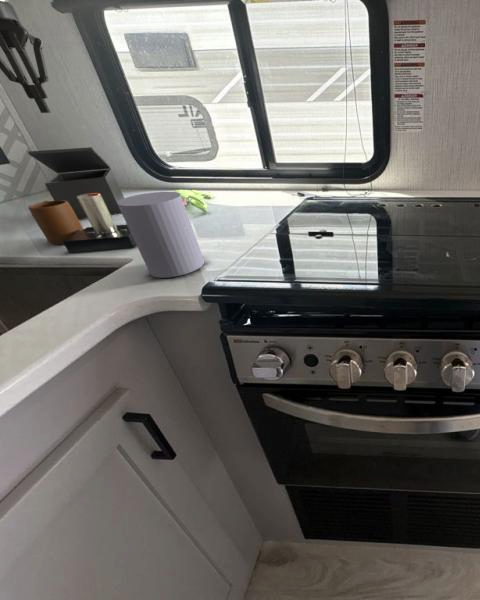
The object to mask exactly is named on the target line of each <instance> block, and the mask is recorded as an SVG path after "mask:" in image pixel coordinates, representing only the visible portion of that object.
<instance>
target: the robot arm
mask: <svg viewBox="0 0 480 600" xmlns="http://www.w3.org/2000/svg"><path fill="white" fill-rule="evenodd" d="M9 1H10V0H0V48H1V50H2V52H3V53H4V55H5V57H6V59H7V61H8V62H9V64H10V66H11V68H12V69H11V68H10V67H9V66H8V65H7V64H6V63H5V61H4V60H3V59H2V57H1V56H0V70H1V72H2V73H3V75H4V76H5V77H6V78H7V79H8V80H9V81H10V82H13V83H17V84H19V85H21V87H22V89H23V91H24V92H25V95H26V96H27V98H28V99H31V100H32V99H33V100H34V102H35V104H36V105H37V107H38V110H39V111H40V114H50V113H51V110H50V108H49V106H48V104H47V102H46V100H45V99H49V97H48V94H47V92H46V90H45V88H44V86H43V84H46V83H48V82H49V81H50V80H49V75H48V70H47V66H46V62H45V57H44V53H43V52H44V51H43V48H44V44H45V43H44V41H43V39H41V38H40V37H36V36H34V35H32V34H30V33H29V31H28V30H27V29H26V28H25V27H24V26H23V24H22V23H21V21H20V18H19V17H18V14H17V12H16V10H15V8H14V6H13V5H12V4H11V3H9ZM28 41H29V44H31V45H32V48H33V54H34V58H35V62H36V67H37V71H36V69H35V67H34V65H33V62H32V60H31V59H30V57H29V55H28V52H27V50H26V46H27V43H28ZM14 49H15V50H16V53H17V54H18V56H19V58H20V60H21V61H22V63H23V66H24V67H25V70H26V71H27V73H28V75H29V77H30V79H31V82H32V83H33V84H30V81H28V79H27V77H26V75H25V73H24V70H23V69H22V67H21V65H20V62H19V61H18V59H17V57H16V55H15V53H14ZM12 70H13V71H12ZM37 72H38V73H37Z"/></svg>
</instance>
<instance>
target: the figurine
mask: <svg viewBox="0 0 480 600" xmlns="http://www.w3.org/2000/svg"><path fill="white" fill-rule="evenodd" d="M172 192H177V193H180V195H181V198H182V200H183V203H184V206H187V204H188V203H187V201H188V202H189V204H190V205H191V206H193V207H195V208H197V209H198V210H201V211H202V212H203V213H204V214H207V213H208V211H207V208H208V204H207V203H206V202H205V201H204V197H205V198H209V199H210V198H212V197H213V194H212V193H211V192H208V193H205V192H202V191H199V190H194V189H191V190H188V189H176V190H173V191H172Z"/></svg>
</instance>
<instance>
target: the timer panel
mask: <svg viewBox="0 0 480 600" xmlns="http://www.w3.org/2000/svg"><path fill="white" fill-rule="evenodd" d="M115 225H116V227H117V229H118V230H117V231H115V232H112V233H109V234H101V235H99V234H96V233H95V231H94V229H93V227H92V226H87V227H84V228H83V230H82V231H80V232H78V233H76V234H75V235H73V236H71V237H69V238H68V239H66V240H64V241H62V242H63V243H64V244H63V245H64V247H65V249H66V251H67V252H68V253H69V254H75V253H87V252H97V251H98V252H99V251H110V250H123V249H134V248H135V247H137V245H136V243H135V240H134V238H133V236H132V234H131V232H130V230H129V228H128V225H127V224H115Z"/></svg>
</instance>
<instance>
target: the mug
mask: <svg viewBox="0 0 480 600" xmlns="http://www.w3.org/2000/svg"><path fill="white" fill-rule="evenodd" d="M28 210H29V212H30V214H31V216H32V218H33V219H34V221H35V223H36V224H37V226H38V228H39V229H40V231H41V233H42V234H43V236H44V237H45V239H46V240H47V242H48V243H50V244H52V245H64V243H63V242H62V241H64V240H66V239H68V238H69V237H71V236H73V235H75V234H76V233H78V232H80V231H82V230H83V229H84V228H83V226H82V224H81V222H80V219H78V218H77V216H76V214H75V213H74V211H73V209H72V207H71V206H70V204H69V203H68V201H66V200H55V201H54V200H43V201H41V202H37V203H33V204H31V205H29V206H28Z"/></svg>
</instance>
